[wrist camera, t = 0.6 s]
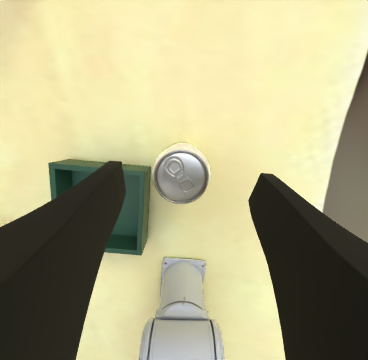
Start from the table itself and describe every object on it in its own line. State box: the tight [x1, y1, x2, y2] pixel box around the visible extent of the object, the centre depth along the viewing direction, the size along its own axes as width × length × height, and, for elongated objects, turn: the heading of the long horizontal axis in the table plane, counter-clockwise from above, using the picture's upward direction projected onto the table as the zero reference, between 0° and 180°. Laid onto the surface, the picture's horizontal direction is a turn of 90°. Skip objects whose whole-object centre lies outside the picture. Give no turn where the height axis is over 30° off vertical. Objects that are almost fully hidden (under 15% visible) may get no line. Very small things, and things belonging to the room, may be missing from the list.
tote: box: [49, 159, 151, 255], centre depth 29 cm, size 14×14×5 cm
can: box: [152, 143, 211, 204], centre depth 24 cm, size 6×6×12 cm
